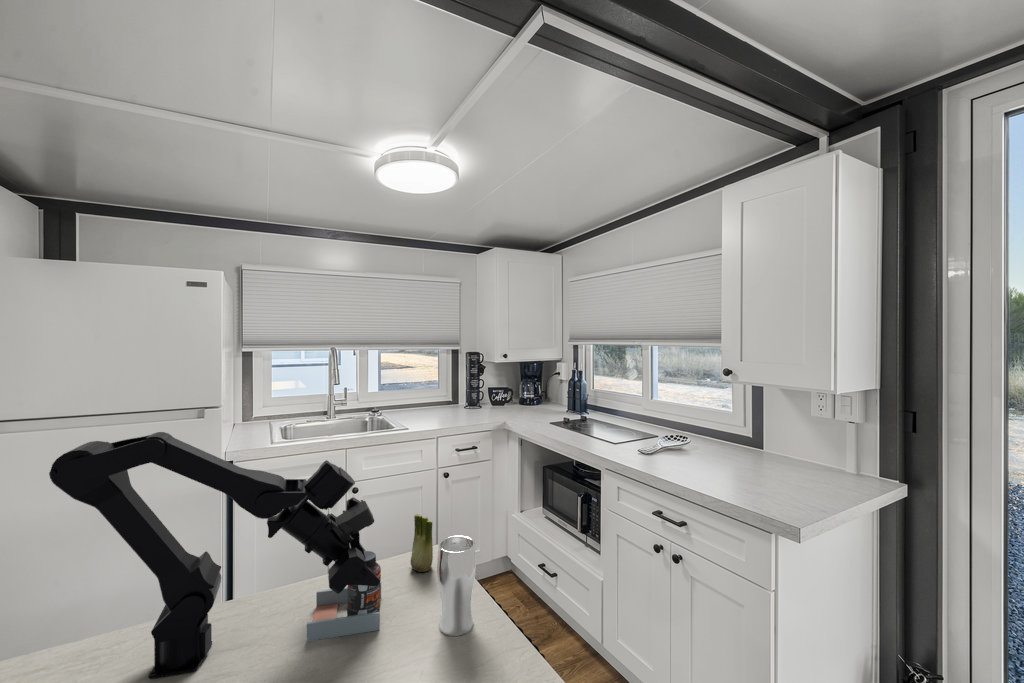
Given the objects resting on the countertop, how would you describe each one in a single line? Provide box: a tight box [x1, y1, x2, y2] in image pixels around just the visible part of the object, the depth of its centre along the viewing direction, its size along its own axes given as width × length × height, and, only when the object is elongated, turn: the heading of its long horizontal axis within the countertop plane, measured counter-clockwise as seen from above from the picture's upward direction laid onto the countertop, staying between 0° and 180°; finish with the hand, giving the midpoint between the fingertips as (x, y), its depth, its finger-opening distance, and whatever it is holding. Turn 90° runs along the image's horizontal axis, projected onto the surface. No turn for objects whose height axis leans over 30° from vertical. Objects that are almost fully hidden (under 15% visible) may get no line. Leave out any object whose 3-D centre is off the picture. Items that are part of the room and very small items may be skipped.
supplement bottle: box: [346, 550, 382, 617], centre depth 82 cm, size 6×6×11 cm
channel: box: [306, 584, 382, 642], centre depth 82 cm, size 12×10×3 cm
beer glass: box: [436, 535, 477, 637], centre depth 80 cm, size 7×7×15 cm
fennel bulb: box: [410, 514, 434, 573], centre depth 99 cm, size 6×5×12 cm
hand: (376, 575), depth 83 cm, fingers closed on supplement bottle, 6 cm apart
